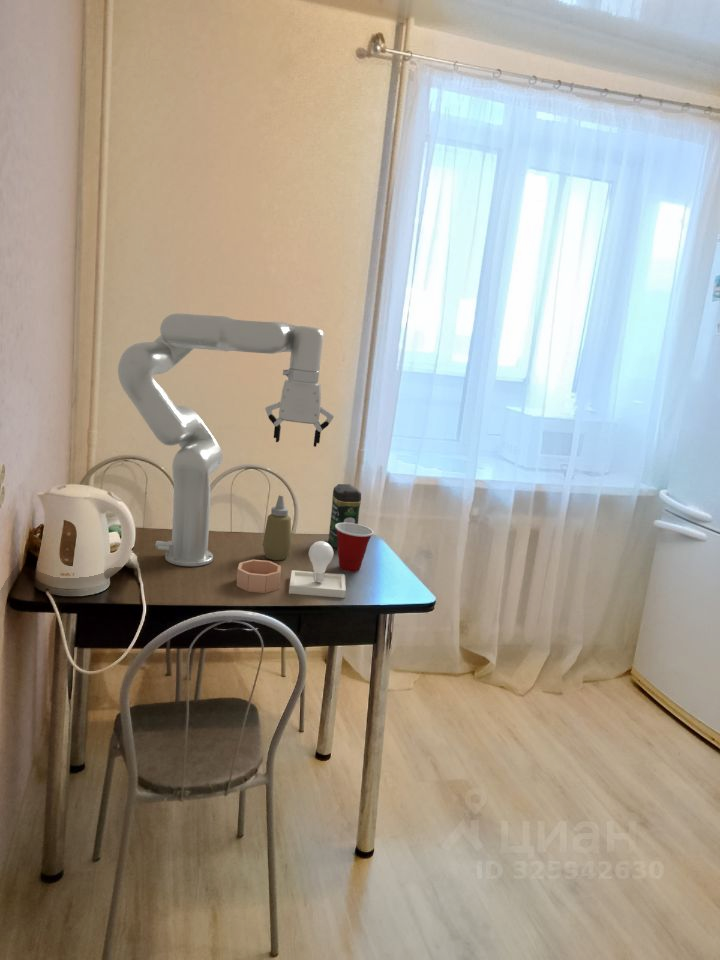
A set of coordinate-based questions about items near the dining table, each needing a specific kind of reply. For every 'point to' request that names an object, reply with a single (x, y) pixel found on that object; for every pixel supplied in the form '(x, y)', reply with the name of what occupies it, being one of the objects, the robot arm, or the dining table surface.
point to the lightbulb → (320, 559)
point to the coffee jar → (343, 508)
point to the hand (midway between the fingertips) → (296, 443)
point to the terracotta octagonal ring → (258, 576)
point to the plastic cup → (352, 545)
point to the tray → (317, 584)
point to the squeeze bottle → (277, 532)
